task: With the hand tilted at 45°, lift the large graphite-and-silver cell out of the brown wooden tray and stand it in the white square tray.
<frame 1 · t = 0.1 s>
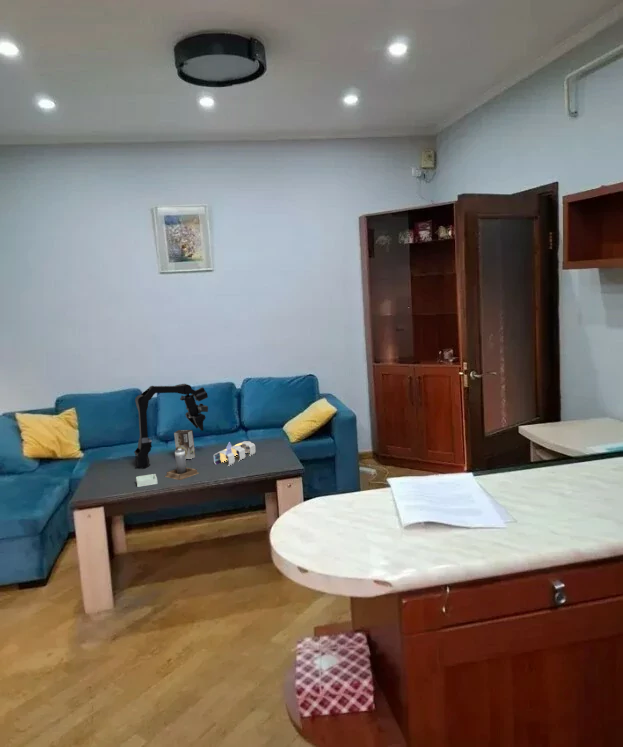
hand: (199, 429, 344), 15 cm above the table, tool pointing down, fingers open, 9 cm apart
white square tray: (147, 483, 298), on the table
cell: (182, 474, 308), resting on brown wooden tray
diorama: (235, 460, 331), on the table
brown wooden tray: (182, 475, 308), on the table
coffee box: (186, 458, 341), on the table
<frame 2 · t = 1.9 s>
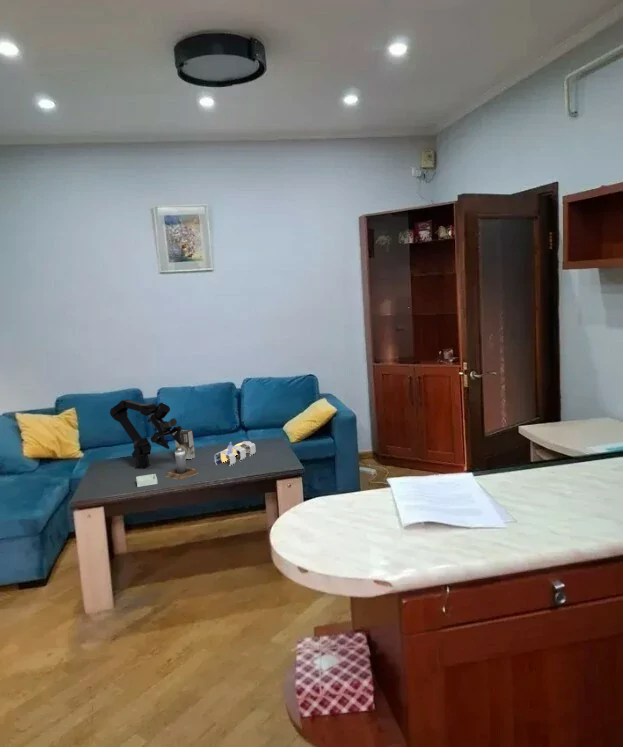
hand: (175, 446, 313), 14 cm above the table, tool tilted 40°, fingers open, 9 cm apart
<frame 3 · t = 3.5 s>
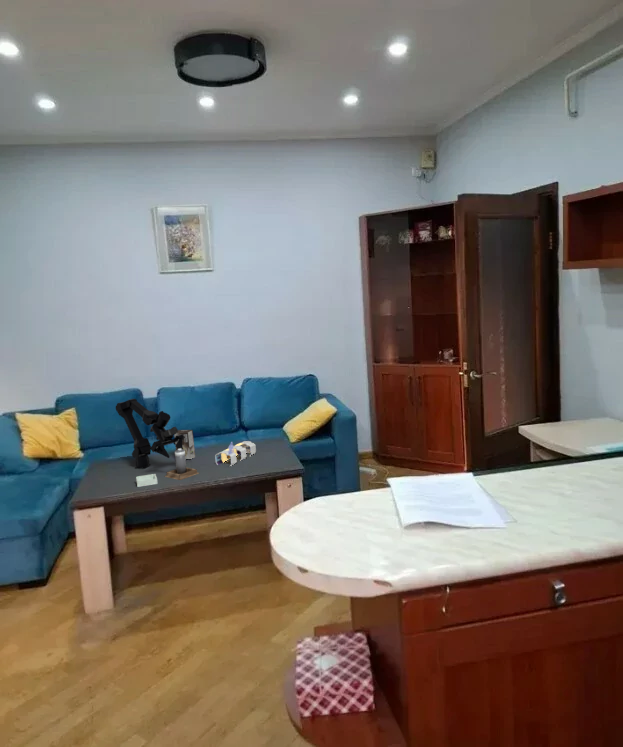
hand: (176, 455, 308), 10 cm above the table, tool tilted 45°, fingers open, 9 cm apart
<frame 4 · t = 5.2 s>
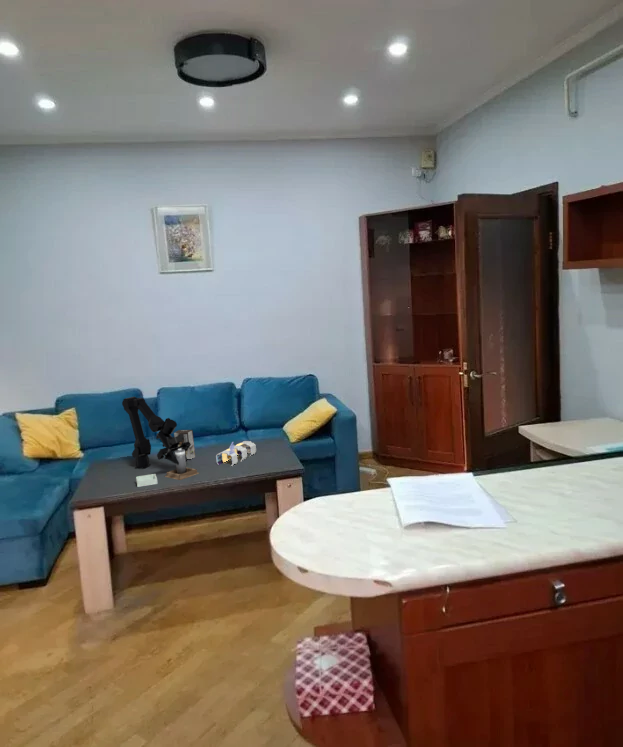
hand: (182, 462, 306), 7 cm above the table, tool tilted 45°, fingers closed on cell, 5 cm apart
cell: (182, 474, 308), resting on brown wooden tray, touching gripper
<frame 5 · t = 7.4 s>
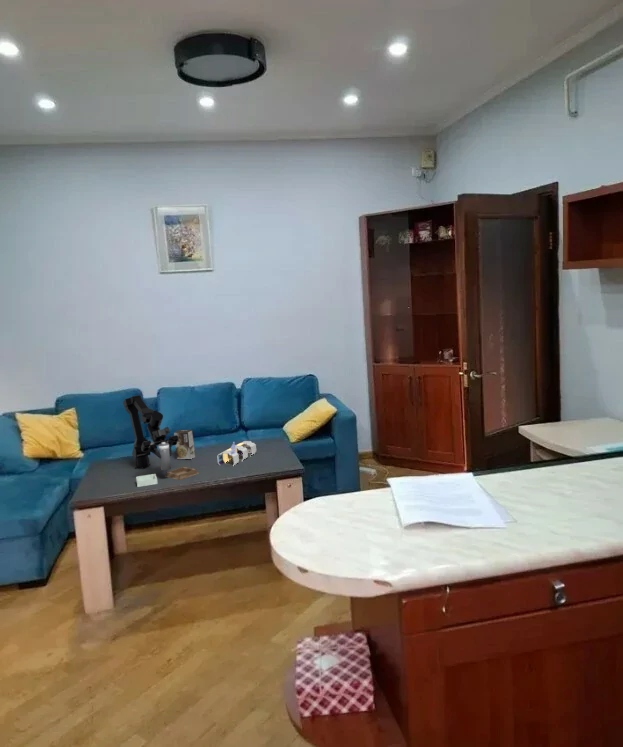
hand: (165, 456, 299), 12 cm above the table, tool tilted 45°, fingers closed on cell, 5 cm apart
cell: (165, 468, 301), point 6 cm above the table, touching gripper
when the fingers open (8 cm above the table, at t = 9.8 s): cell stays where it is, resting on white square tray.
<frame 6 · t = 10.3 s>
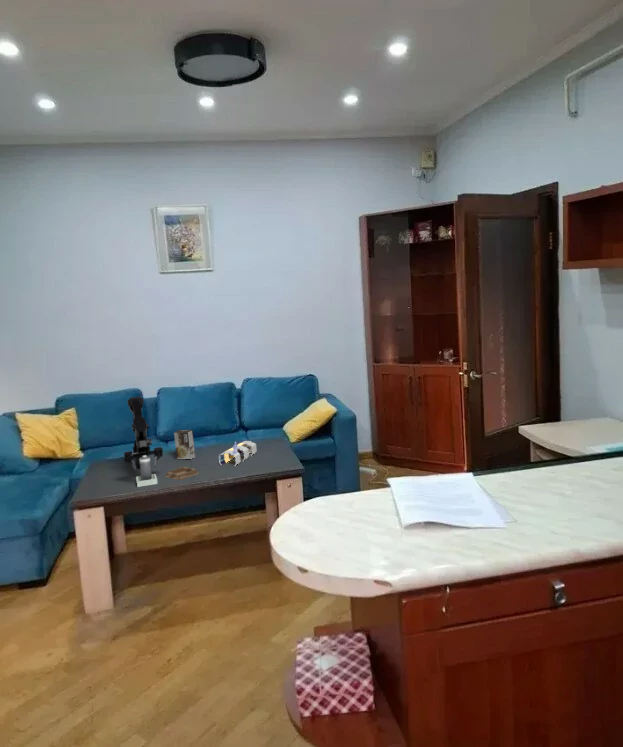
hand: (145, 468, 296), 8 cm above the table, tool tilted 45°, fingers open, 9 cm apart
cell: (146, 482, 298), point 1 cm above the table, touching white square tray
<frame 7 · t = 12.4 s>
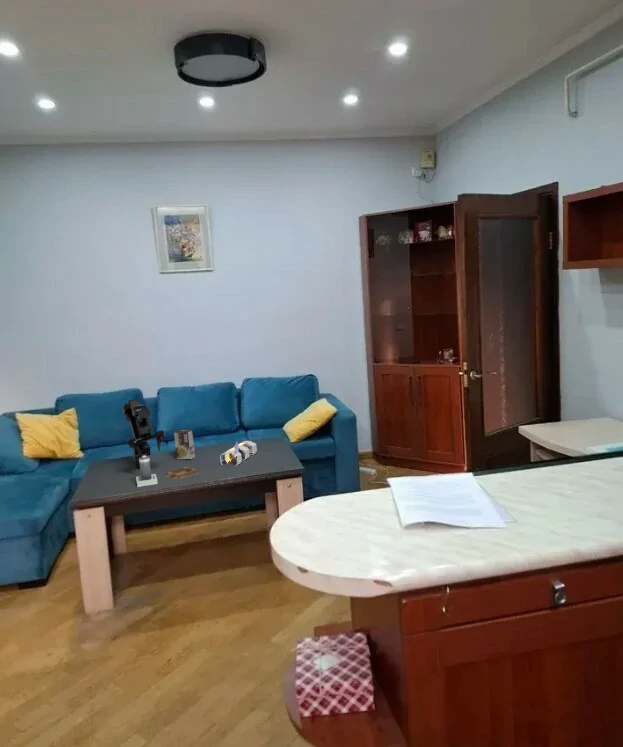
hand: (150, 453, 307), 13 cm above the table, tool tilted 35°, fingers open, 9 cm apart
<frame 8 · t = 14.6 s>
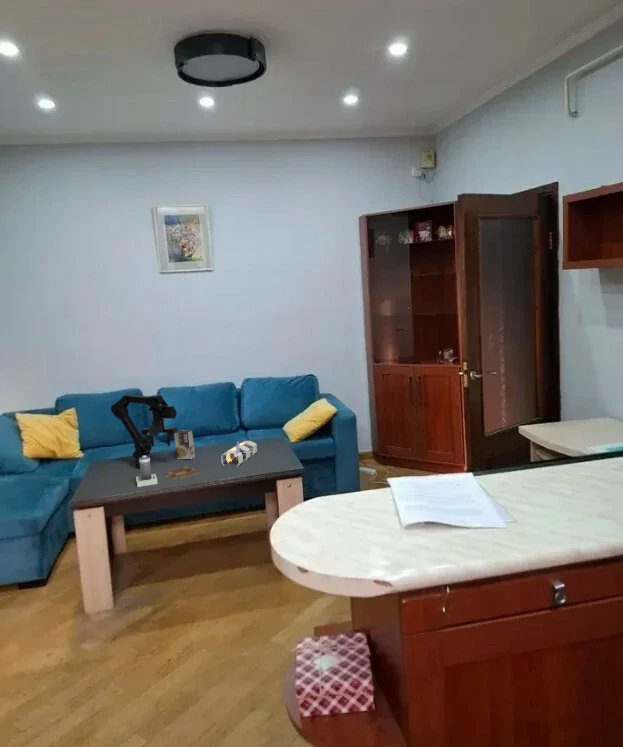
hand: (160, 446, 323), 12 cm above the table, tool pointing down, fingers open, 9 cm apart
at the end: cell 0.0 cm off-centre on the white square tray, point 0.5 cm above the white square tray's base; cell tilted 1°; the gripper is holding nothing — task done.
